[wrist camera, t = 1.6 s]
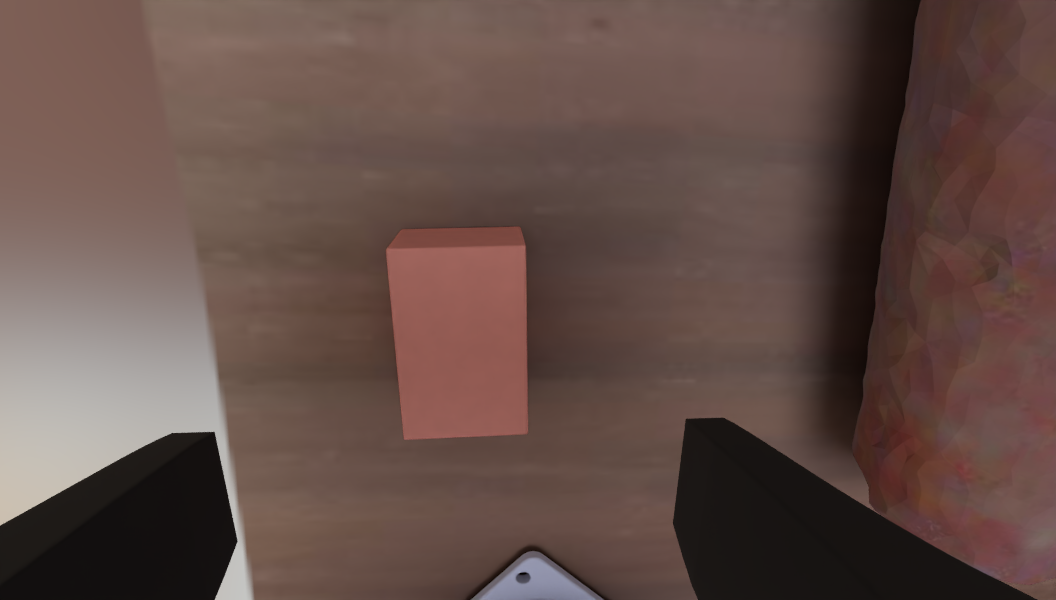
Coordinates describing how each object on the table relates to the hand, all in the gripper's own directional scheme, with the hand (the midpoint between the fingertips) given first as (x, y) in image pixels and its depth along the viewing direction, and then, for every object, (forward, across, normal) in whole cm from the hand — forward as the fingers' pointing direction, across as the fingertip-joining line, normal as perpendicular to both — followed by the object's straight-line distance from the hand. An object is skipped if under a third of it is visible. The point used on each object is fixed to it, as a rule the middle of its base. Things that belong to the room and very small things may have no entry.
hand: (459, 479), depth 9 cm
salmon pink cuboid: (+9, 0, +1) cm, 9 cm away
